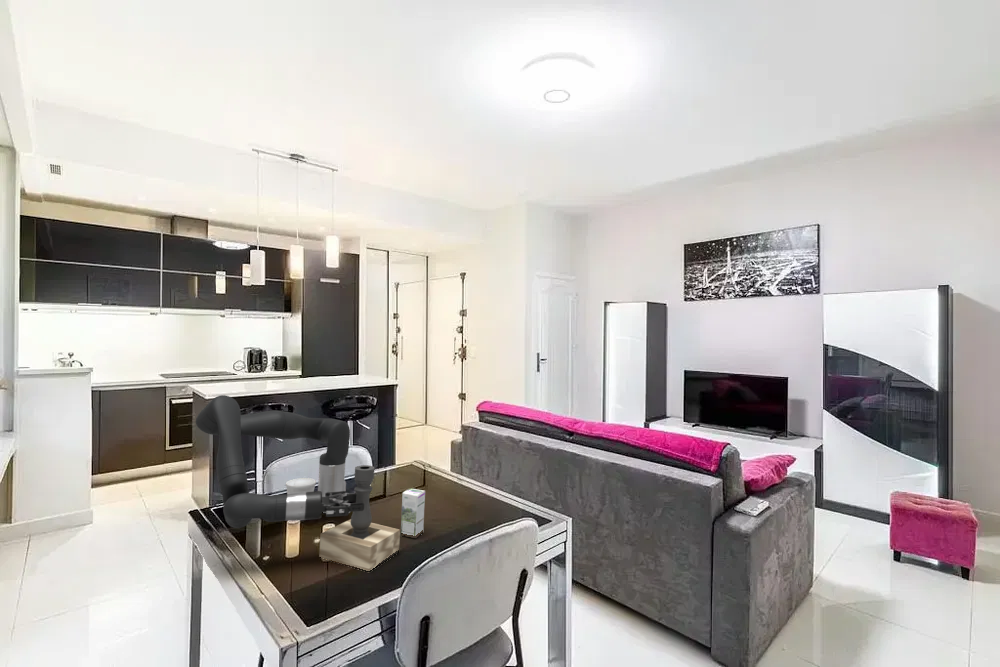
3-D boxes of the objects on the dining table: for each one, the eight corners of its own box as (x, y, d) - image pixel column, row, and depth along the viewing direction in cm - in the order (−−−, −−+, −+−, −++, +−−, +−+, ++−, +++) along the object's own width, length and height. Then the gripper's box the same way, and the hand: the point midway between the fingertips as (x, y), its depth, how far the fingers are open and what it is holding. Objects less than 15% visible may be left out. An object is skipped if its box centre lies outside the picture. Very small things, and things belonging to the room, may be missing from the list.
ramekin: (280, 494, 190) (280, 481, 190) (306, 488, 199) (307, 476, 199) (293, 501, 183) (294, 487, 183) (320, 495, 191) (321, 482, 191)
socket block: (351, 540, 151) (353, 518, 151) (398, 552, 144) (400, 529, 144) (319, 557, 138) (320, 533, 139) (368, 572, 131) (370, 547, 131)
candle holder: (350, 547, 144) (356, 464, 144) (371, 547, 145) (377, 465, 145) (345, 556, 138) (351, 470, 138) (367, 556, 138) (373, 471, 139)
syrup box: (423, 533, 160) (426, 489, 160) (415, 539, 154) (417, 495, 154) (408, 530, 161) (411, 487, 162) (399, 536, 156) (402, 492, 156)
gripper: (304, 501, 129) (365, 496, 135) (305, 485, 142) (361, 481, 148) (302, 528, 129) (364, 523, 135) (303, 510, 142) (359, 505, 148)
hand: (362, 501), depth 142 cm, fingers open, 8 cm apart
